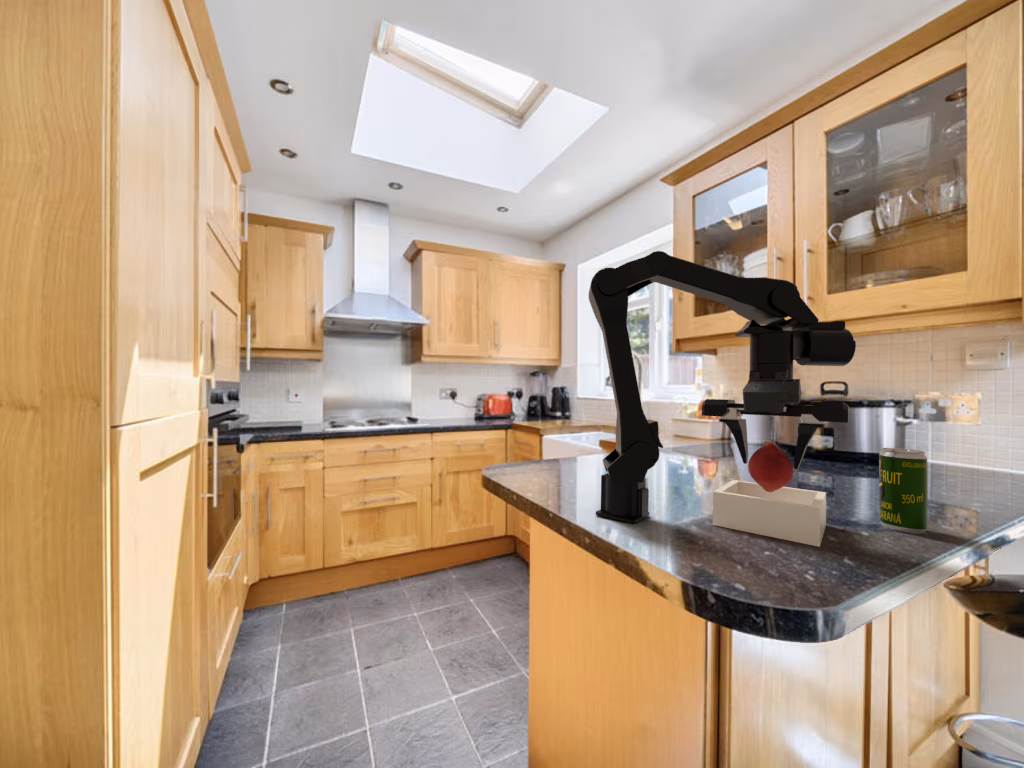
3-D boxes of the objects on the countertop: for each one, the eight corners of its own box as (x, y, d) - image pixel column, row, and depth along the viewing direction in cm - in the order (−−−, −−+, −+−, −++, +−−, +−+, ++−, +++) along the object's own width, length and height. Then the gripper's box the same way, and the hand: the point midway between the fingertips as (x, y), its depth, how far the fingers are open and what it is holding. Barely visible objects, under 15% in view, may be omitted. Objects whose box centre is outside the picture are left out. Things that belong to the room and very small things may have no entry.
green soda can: (901, 523, 66) (901, 447, 66) (938, 534, 60) (937, 452, 61) (869, 523, 65) (869, 447, 66) (904, 534, 60) (903, 451, 60)
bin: (712, 524, 62) (713, 491, 62) (732, 508, 72) (733, 479, 72) (819, 546, 54) (819, 508, 54) (826, 524, 64) (826, 492, 64)
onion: (784, 489, 65) (785, 438, 65) (799, 498, 59) (800, 443, 59) (743, 486, 67) (744, 436, 67) (754, 495, 61) (755, 441, 61)
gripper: (691, 362, 63) (690, 464, 63) (847, 358, 51) (847, 483, 51) (711, 367, 72) (710, 457, 71) (849, 364, 60) (848, 472, 59)
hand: (770, 466), depth 63 cm, fingers open, 6 cm apart
